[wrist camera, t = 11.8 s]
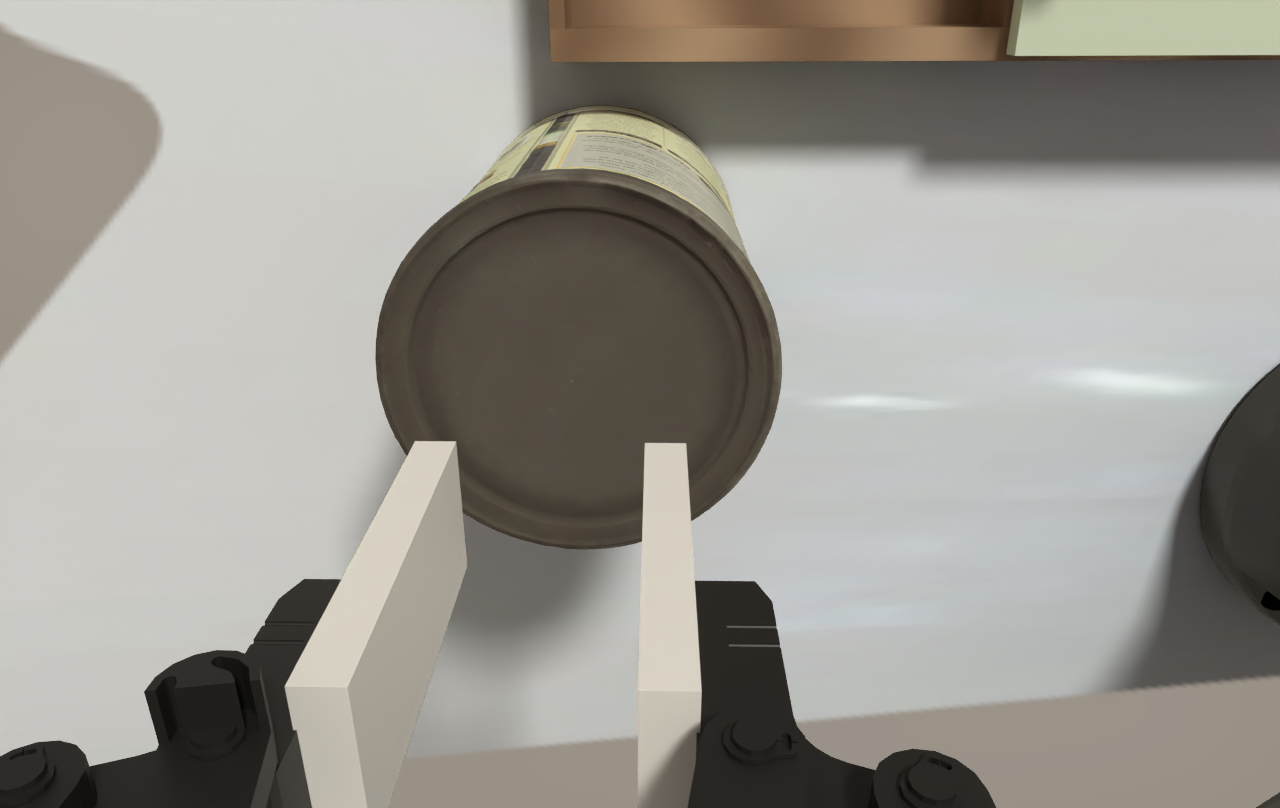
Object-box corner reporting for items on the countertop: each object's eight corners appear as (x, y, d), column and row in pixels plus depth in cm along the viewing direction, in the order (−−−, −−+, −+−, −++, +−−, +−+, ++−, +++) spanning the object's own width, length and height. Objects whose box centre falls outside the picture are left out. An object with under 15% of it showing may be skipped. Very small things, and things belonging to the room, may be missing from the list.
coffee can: (690, 391, 39) (706, 592, 26) (449, 322, 38) (342, 495, 25) (776, 150, 35) (845, 247, 22) (509, 65, 34) (417, 114, 21)
